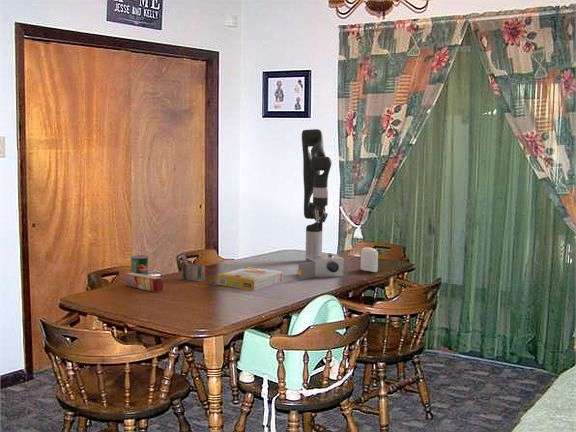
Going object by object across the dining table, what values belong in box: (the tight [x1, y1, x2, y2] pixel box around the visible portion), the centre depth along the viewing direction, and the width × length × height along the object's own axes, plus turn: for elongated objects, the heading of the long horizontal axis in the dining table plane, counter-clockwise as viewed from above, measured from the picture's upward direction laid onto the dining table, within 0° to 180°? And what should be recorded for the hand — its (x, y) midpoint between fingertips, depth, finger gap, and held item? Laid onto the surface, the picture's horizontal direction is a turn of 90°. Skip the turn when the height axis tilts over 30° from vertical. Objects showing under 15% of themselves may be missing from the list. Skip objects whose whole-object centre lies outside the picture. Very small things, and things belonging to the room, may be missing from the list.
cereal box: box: [216, 266, 284, 291], centre depth 339 cm, size 20×6×28 cm
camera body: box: [305, 253, 345, 278], centre depth 363 cm, size 14×16×10 cm
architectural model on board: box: [181, 259, 206, 282], centre depth 344 cm, size 11×3×10 cm, turn 63°
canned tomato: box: [130, 254, 149, 275], centre depth 343 cm, size 8×8×11 cm
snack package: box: [124, 272, 164, 293], centre depth 322 cm, size 21×7×7 cm, turn 50°
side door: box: [296, 261, 316, 281], centre depth 350 cm, size 12×2×8 cm, turn 137°
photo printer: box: [360, 246, 379, 273], centre depth 377 cm, size 10×4×12 cm, turn 39°
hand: (319, 230), depth 364 cm, fingers closed
